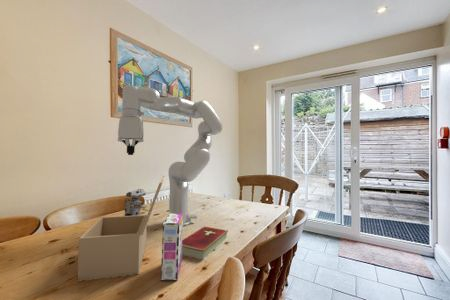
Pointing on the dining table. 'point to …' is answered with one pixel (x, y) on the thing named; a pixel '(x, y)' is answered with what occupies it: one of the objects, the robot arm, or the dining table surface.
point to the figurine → (134, 202)
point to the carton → (112, 248)
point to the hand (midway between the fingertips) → (130, 154)
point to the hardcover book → (203, 242)
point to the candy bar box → (172, 246)
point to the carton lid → (152, 205)
